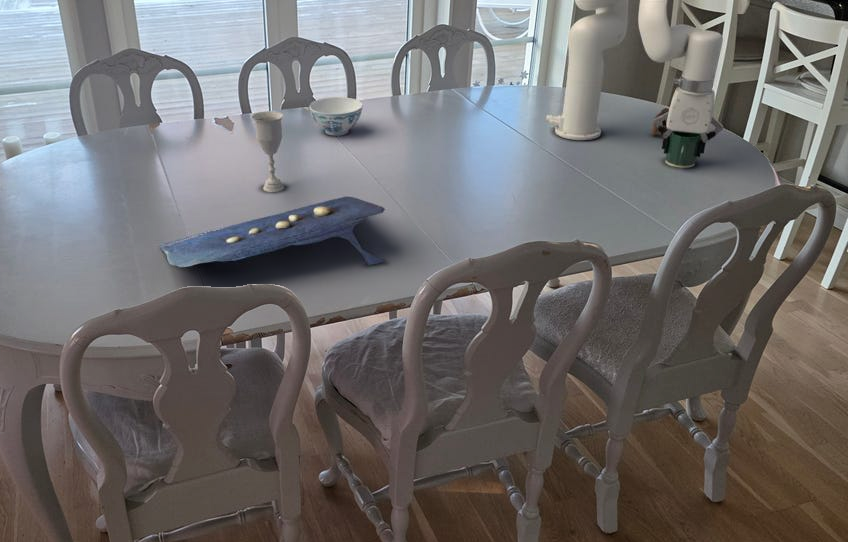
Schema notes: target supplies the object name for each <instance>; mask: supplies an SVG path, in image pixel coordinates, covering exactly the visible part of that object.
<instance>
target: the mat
mask: <svg viewBox="0 0 848 542" xmlns="http://www.w3.org/2000/svg"><path fill="white" fill-rule="evenodd" d="M384 211H386V208H385V207H384V206H381V205H378V204H375V203H372V202H369V201H367V200H363V199H360V198H357V197H354V196H342V197H339V198H334V199H329V200H325V201H321V202H317V203H314V204H308V205H306V206H302V207H298V208H295V209H292V210H291V209H290V210H286V211H284V212H280V213H276V214H272V215H268V216H264V217H260V218H256V219H251V220H249V221H247V220H246V221H244V222H240V223H236V224H232V225H229V226H225V227H222V228H223V229H222V228H219V229H220V230H216V231H212V230H209V231H210V232H208V231H206V232H207V233H206V234H205V233H204V232H201V233H198V234H194V235H189V236H186V237H182V238H179V239H175V240H172V241H169V242H165V243H161V244H159V245H158V247H159V248H161V250H162V252H164V254H166V259H167V261H168V263H169V265H171V266H176V267H178V268H187V267H192V266H195V265H198V264H206V263H211V262H229V261H237V260H242V259H245V258H249V257H255V256H258V255H263V254H268V253H270V252H275V251H278V250H281V249H284V248H287V247H290V246H292V245H293V246H300V245H301V246H303V245H309V244H314V243H319V242H320V243H321V242H322V241H324V240H327V239H331V238H342V239H345V240H347V241H349V242H350V244H352V246H353V247H355V248H356V250H357V251H358V252H359V253H360V254H361V255H362V256H363V258H364V259H365V262H366V264H367V265H368V266H373V265H377V264H381V263H384V262H386V260H383V259H380V258H379V257H376V256H375V255H373V254H371V253H369V252H367V251H365V250H364V249H363V248H362V247H361V245H360V243H359V241H358V240H357V238H356V235H355V234H354V233H353V232H354V231H353V230H354V228H355V226H356V225H358V224H360V223H361V222H364V221H365V220H366V219H368V218H370V217H374V216H376V215H380V214H383V213H384ZM200 234H203V235H200ZM196 235H199V236H197V237H194V238H190V239H188V240H184V241H182V242H178V243H174V244H172V245H171V246H164V247H161V246H163V245H168V244H170V243H173V242H176V241H180V240H183V239H185V238H186V239H187V238H189V237H192V236H196Z"/></svg>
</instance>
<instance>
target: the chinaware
mask: <svg viewBox="0 0 848 542" xmlns="http://www.w3.org/2000/svg"><path fill="white" fill-rule="evenodd" d="M363 106H364V105H363V103H362V102H361V101H360V100H358V99H356V98H351V97H343V96H341V97H340V96H333V97H325V98H319V99H317V100H314V101H311V103H310V104H309V111H310V114H311V117H312V119H313V121H314V122H315V123H316V125H317V126H318V127H319V128H321V129H322V130H324V131H325V134H327V135H329V136H338V137H339V136H344V135H347V134H348V133H349V131H350V130H351V128H353V127H354V126H355V125H356V124H357V122H358V121H359V119H360V117H361V115H362V111H363Z"/></svg>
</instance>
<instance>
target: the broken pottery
mask: <svg viewBox="0 0 848 542" xmlns="http://www.w3.org/2000/svg"><path fill="white" fill-rule="evenodd" d="M669 109H670V108H667V107H665V108H663V109H662V110H661V111H660V112H659V113H658V114H656V116H655V117H654V119H655V118H657V117H659V116H661V115H663V114H664V113H666V112H668V111H669ZM661 123H662V125H663V126H664V128H665V129H667V126H666V124H667V119H665V120H664V121H662V122H661ZM651 133H652V136H653V137H656V135H659V136H660V135H661V136H662V134H661V133H660V132H659V131H658V128H657V127H656V125H655V124H654V123H653V125H652V130H651Z"/></svg>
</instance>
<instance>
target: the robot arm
mask: <svg viewBox="0 0 848 542" xmlns="http://www.w3.org/2000/svg"><path fill="white" fill-rule="evenodd" d="M668 1H669V0H639V6H638V14H637V15H638V17H637V20H638V21H637V22H638V30H639V34H640V38H641V42H642V45H643V48H644V51H645V53H646V54H647V56H648V57H649V58H650V60H652V61H653V62H656V63H666V62H669V61H673V60H675V59H679V58H683V57H684V61H683V62H684V63H683V67H682V72H681V76H680V77H674V81H673V85H678V86H677V87H676V88H675V91H674V93H673V95H672V98H671V102H670V106H669V108H668V109H669V111H668V112H666V113H664V114H663V115H661V116H659V117H657V118H655V117H654V120H653V125H654V124H655V125H656V127H657V128H658V131H659V132H660V133H661V134H662V135H661V136H662V138H663V140H662V145H661V150H663V154H665V155H666V153H667V149H668V144H669V139H670V134H671V133H672V132H673V131H678V132H687V133H697V134H700V135H701V140H700V145H699V149H698V154H697V158H701V154H704V153H705V150H706V144H707V143H708V142H709V141H710V140H711V139H713V138H715V137H716V136H717V135H718V134H719V133H720V132H722V131H723V130H724V125H723V124H722V123H721V122H720V121H719V120H718V119H717V118H716V117H714V115H713V114H714V107H715V96H716V94H715V93H716V92H715V91H714V90H713V87H714V82H715V79H716V75H717V69H718V66H719V61H720V57H721V52H722V47H723V42H724V37H723V35H722V34H721V33H720V32H717V31H714V30H707V29H706V30H705V29H704V30H702V29H700V28H697V27H695V26H692V25H688V24H684V23H680V24H676V25H673V26H670V24H669V19H668V12H667V8H668ZM574 2H575V4H576V6H577V8H578V9H580V10H582V11H587V12H589V11H595V14H594V13H593V14H590V15H587V16H584V17H582V18H580V19H578V20H577V21H576V22H574V23H573V25H572V26H571V27H570V30H569V32H568V37H567V46H568V63H567V65H568V66H567V74H566V84H565V93H564V100H563V106H562V107H563V108H562V113H561V115H560V114H558V115H552V114H547V115H546V117H545V122H546V123H548V125H555V127H554V132H555V134H556V135H557V136H559V137H560V138H564V139H567V140H572V141H590V140H594V139H597V138H599V137H600V136H601V134H602V129H601V128H600V127H599V126H597V122H598V115H599V109H600V101H601V96H602V89H603V81H604V74H605V62H604V57H603V51H606V50H609V49H612V48H614V47H617V46H619V45H620V44H621V43H622V42H623V41H624V39H625V37H626V35H627V32H628V26H629V25H628V23H629V0H574ZM665 119H667V124H666V126H667V129H665V128H664V126H663V125H662V121H664V120H665ZM711 125H712V126H713V127H714V128H713V129H712V130H711V131H710V128H711Z"/></svg>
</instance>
